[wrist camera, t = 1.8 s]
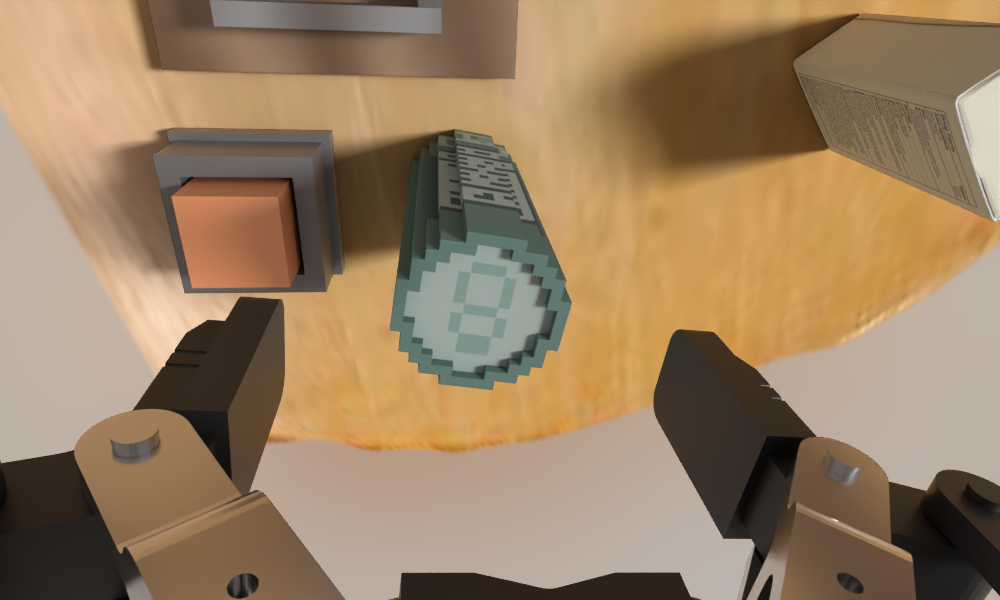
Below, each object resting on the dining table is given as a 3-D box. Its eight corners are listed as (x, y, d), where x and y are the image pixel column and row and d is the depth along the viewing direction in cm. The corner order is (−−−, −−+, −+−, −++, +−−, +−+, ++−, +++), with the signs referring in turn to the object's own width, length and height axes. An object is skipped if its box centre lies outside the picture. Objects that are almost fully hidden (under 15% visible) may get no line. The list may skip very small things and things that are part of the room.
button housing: (332, 130, 32) (319, 149, 28) (344, 267, 36) (334, 298, 32) (174, 127, 31) (141, 146, 28) (204, 267, 35) (178, 300, 31)
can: (402, 227, 35) (383, 377, 22) (417, 122, 32) (404, 221, 19) (504, 243, 36) (544, 395, 23) (527, 142, 33) (586, 250, 20)
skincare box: (896, 106, 34) (1105, 164, 24) (825, 153, 35) (994, 229, 25) (861, 7, 32) (1078, 21, 21) (784, 60, 33) (955, 100, 22)
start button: (291, 177, 30) (277, 196, 27) (302, 262, 32) (290, 287, 29) (194, 176, 29) (171, 196, 27) (212, 262, 32) (192, 288, 29)
